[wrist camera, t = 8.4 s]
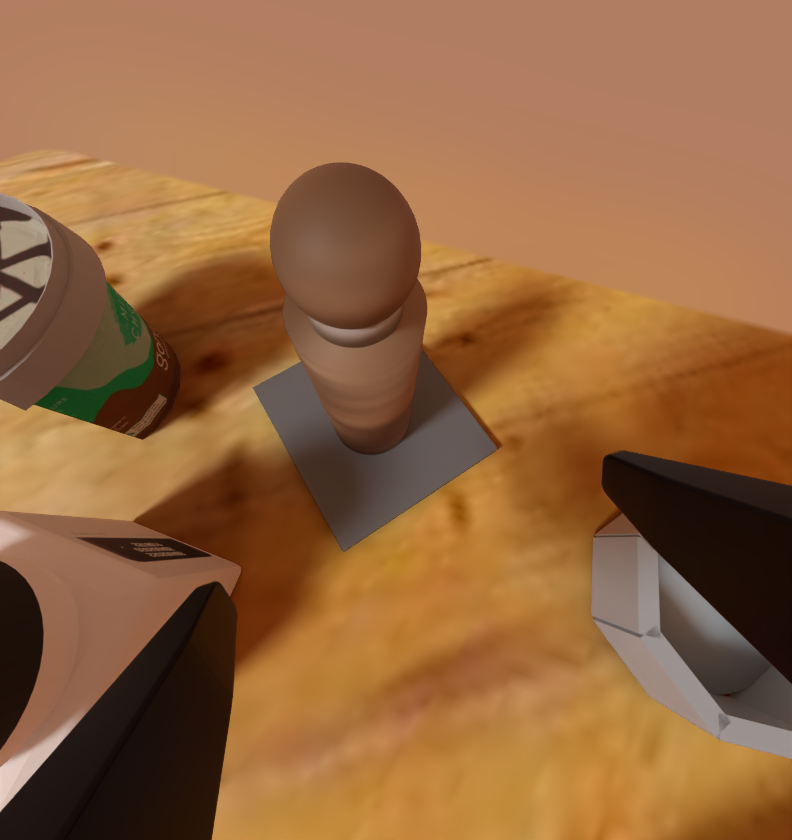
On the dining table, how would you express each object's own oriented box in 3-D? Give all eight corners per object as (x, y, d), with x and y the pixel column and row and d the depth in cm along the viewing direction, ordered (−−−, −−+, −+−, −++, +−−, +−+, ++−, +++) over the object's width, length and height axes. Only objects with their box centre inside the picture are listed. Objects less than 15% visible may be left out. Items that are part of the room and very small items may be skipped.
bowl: (820, 627, 18) (937, 651, 14) (690, 757, 17) (782, 825, 13) (675, 470, 21) (739, 453, 17) (550, 565, 19) (589, 572, 15)
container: (130, 519, 20) (-275, 484, 8) (246, 566, 19) (-11, 607, 7) (44, 664, 18) (-717, 928, 6) (173, 725, 17) (-399, 1194, 5)
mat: (495, 450, 22) (497, 448, 21) (344, 551, 20) (343, 551, 19) (393, 316, 25) (393, 311, 25) (255, 390, 23) (252, 387, 23)
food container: (235, 393, 23) (123, 291, 14) (154, 456, 22) (-33, 389, 12) (140, 287, 26) (-5, 142, 17) (64, 335, 25) (-142, 207, 15)
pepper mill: (424, 417, 22) (492, 180, 8) (371, 471, 21) (332, 311, 6) (371, 370, 23) (341, 85, 9) (317, 419, 22) (179, 181, 7)
